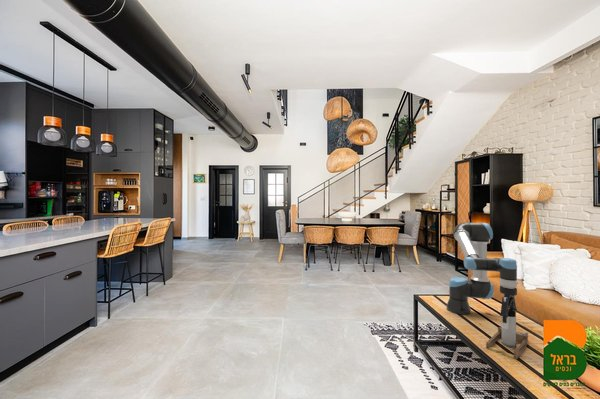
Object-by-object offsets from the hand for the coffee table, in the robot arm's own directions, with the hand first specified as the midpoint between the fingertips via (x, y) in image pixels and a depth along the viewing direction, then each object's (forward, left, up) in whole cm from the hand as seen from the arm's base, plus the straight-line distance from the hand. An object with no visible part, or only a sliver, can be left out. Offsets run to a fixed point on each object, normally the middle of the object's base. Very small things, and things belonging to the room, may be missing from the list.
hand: (508, 325), depth 144 cm
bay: (0, 0, -11) cm, 11 cm away
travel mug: (0, 0, -11) cm, 11 cm away
